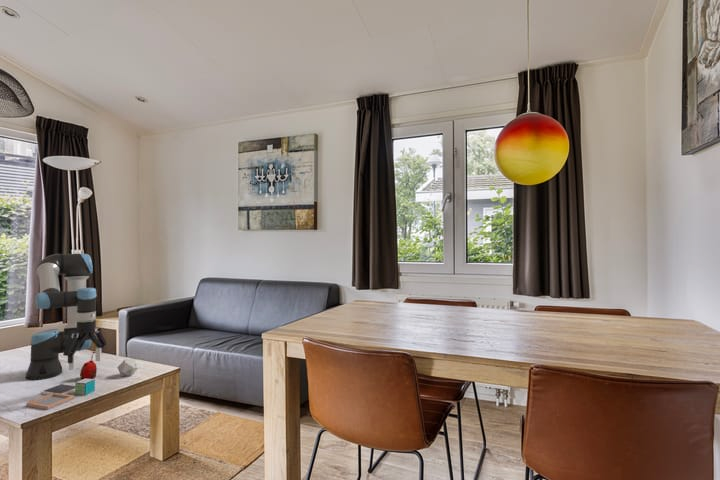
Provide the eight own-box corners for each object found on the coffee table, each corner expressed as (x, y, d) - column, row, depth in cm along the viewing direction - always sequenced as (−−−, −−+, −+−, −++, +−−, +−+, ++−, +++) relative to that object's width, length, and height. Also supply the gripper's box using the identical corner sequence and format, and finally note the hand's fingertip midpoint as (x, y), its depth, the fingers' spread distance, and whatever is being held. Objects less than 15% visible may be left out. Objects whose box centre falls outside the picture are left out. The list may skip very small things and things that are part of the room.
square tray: (26, 406, 170) (26, 403, 170) (54, 395, 182) (54, 392, 182) (47, 409, 167) (47, 406, 167) (74, 398, 179) (74, 395, 179)
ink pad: (40, 393, 184) (40, 390, 184) (61, 385, 194) (61, 383, 194) (60, 396, 181) (60, 393, 181) (80, 388, 191) (80, 386, 191)
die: (123, 380, 204) (136, 363, 207) (110, 370, 206) (124, 354, 209) (131, 380, 212) (144, 364, 215) (119, 371, 214) (132, 355, 217)
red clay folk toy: (86, 375, 208) (86, 347, 208) (99, 375, 209) (100, 347, 209) (77, 381, 200) (77, 352, 200) (91, 381, 201) (91, 352, 201)
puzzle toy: (85, 395, 183) (85, 383, 183) (74, 394, 184) (74, 382, 184) (95, 390, 189) (95, 379, 189) (84, 389, 190) (85, 378, 190)
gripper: (67, 326, 173) (66, 374, 173) (115, 316, 197) (114, 358, 197) (54, 325, 175) (53, 372, 175) (103, 315, 199) (102, 357, 199)
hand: (85, 365), depth 186 cm, fingers open, 13 cm apart
